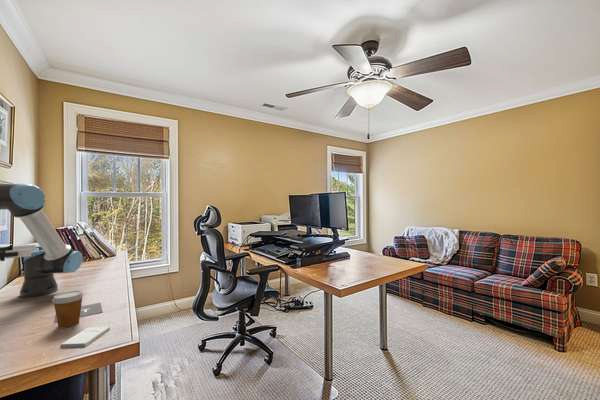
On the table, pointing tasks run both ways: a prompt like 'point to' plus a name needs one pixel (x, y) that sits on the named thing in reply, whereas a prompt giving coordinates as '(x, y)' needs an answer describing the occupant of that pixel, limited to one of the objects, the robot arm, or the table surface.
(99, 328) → the external hard drive
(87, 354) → the table surface
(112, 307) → the table surface
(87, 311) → the tile
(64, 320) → the disposable coffee cup
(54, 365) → the table surface
